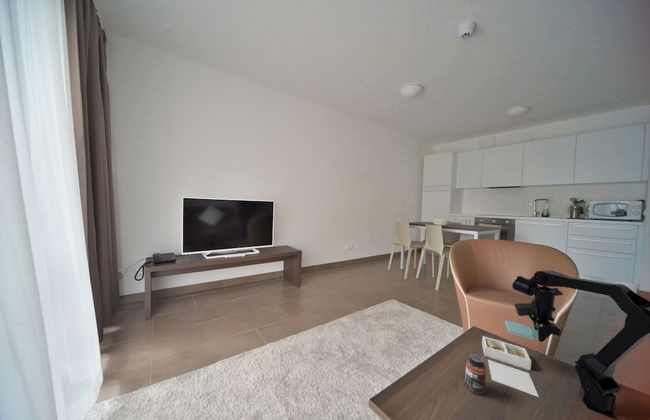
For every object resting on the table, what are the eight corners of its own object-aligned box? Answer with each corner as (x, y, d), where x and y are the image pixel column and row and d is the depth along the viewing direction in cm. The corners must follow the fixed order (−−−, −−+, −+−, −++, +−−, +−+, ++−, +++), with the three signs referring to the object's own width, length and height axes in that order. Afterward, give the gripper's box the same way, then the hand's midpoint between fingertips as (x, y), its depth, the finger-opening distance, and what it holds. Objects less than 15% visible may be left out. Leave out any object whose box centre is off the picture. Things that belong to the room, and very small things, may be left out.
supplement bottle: (478, 382, 83) (481, 352, 82) (488, 396, 77) (491, 365, 76) (461, 380, 83) (463, 351, 82) (469, 394, 77) (472, 363, 76)
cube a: (519, 356, 97) (520, 349, 97) (523, 360, 94) (523, 354, 94) (511, 354, 98) (511, 347, 98) (514, 358, 95) (515, 352, 95)
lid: (539, 331, 94) (540, 327, 94) (547, 343, 86) (547, 339, 86) (504, 322, 100) (505, 319, 100) (509, 333, 92) (509, 329, 92)
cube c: (496, 350, 100) (497, 341, 100) (501, 356, 96) (502, 347, 96) (486, 348, 101) (487, 340, 100) (491, 355, 97) (492, 346, 96)
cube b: (517, 361, 94) (517, 354, 94) (516, 364, 92) (517, 357, 91) (507, 357, 96) (508, 350, 96) (507, 360, 94) (507, 353, 94)
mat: (528, 374, 87) (528, 373, 87) (538, 397, 77) (538, 396, 77) (487, 360, 94) (487, 359, 94) (491, 380, 83) (492, 379, 83)
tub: (523, 357, 97) (525, 348, 96) (530, 371, 89) (531, 361, 89) (481, 344, 104) (482, 336, 104) (484, 355, 96) (485, 347, 96)
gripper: (512, 288, 102) (508, 321, 103) (523, 305, 85) (519, 344, 87) (545, 294, 96) (541, 329, 97) (564, 314, 80) (558, 355, 81)
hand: (539, 338), depth 91 cm, fingers closed on lid, 3 cm apart
